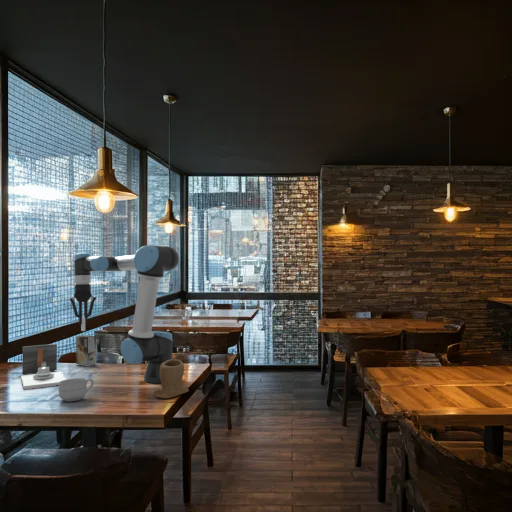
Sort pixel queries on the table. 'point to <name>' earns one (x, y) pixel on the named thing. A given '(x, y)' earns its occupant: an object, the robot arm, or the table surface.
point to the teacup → (74, 389)
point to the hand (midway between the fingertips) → (83, 330)
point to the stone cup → (171, 379)
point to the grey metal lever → (43, 372)
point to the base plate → (41, 380)
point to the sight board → (39, 358)
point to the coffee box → (86, 350)
